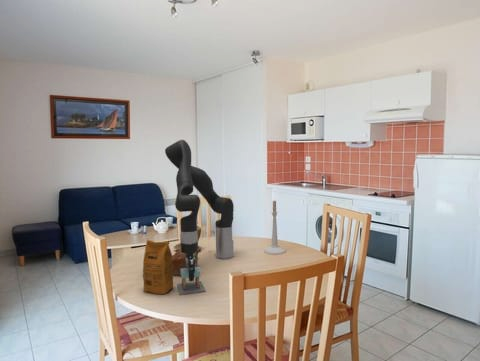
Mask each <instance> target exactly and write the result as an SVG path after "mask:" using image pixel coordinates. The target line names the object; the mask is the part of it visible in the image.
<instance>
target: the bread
mask: <svg viewBox="0 0 480 361" xmlns="http://www.w3.org/2000/svg"><path fill="white" fill-rule="evenodd" d="M193 254H194V256H195V267H197V265H198V259H199V251H197V252H195V253H193ZM172 257H173V261H172V263H173V277H178V276H179V277H181V274H180V269H182V268H187V267H186V264H185V253H182V252H181V250H178V249H177V251H176V252H175V253H173V254H172Z"/></svg>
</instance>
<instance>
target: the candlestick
mask: <svg viewBox="0 0 480 361" xmlns="http://www.w3.org/2000/svg"><path fill="white" fill-rule="evenodd" d="M278 213H279V212H278V211H277V200H272V211H271V214H272V228H271V229H272V231H271V232H272V234H271V245H268V246H266V247H264V249H263V253H265V254H268V255H274V256H276V255H283V254H285V253H286V252H287V250H286V248H285V247H284V246H280V245H279V243H278V242H279V241H278V240H279V239H278V227H277V224H278V223H277V216H278Z"/></svg>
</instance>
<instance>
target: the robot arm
mask: <svg viewBox="0 0 480 361" xmlns="http://www.w3.org/2000/svg"><path fill="white" fill-rule="evenodd" d="M164 153H165V156H166V157H167V159H168V160H169V161H170V163H171V164H173V165H174V166H175V167H176V168H177V172H176V175H175V176H176V178H175V179H176V180H175V183H176V189H177V191H176V192H177V194H176V199H175V202H174V206H175V210H177V211H178V212H180V213H183V212H185V213H186V212H190V214H188V215H186V216H182V217H181V218H180V220H179V224H180V225H179V227H180V233H179V239H180V243H179V244H181V252H182V253H185V264H186V267H187V268H188V273H189V278H188V282H195V277H194V273H195V267H196V266H195V256H194V254H193V253H195V252H197V251H198V246H199V241H198V234H197V226H198V214H199V211H200V207H201V198H200V196H199V195H197V194H192V193H193V192H194V188H195V190H197V192H199V194H200V195H201V196H202V198H204V200H205V201H206V202H207V204H208V205H209V207H210V208H211V209H212V211H213V212H214V213H216V214H220V219H217V220H216V221H215V226H214V227H215V256H216V258H217V259H221V260H222V259H223V260H224V259H225V260H226V259H230V258H234V256H235V252H234V250H235V249H234V240H233V222H234V208H235V206H234V202H233V200H232V198H230V197H223V196H220V195H219V194H217V192H216V191H215V190H214V185H213V181H212V178H211V177H210V176H209V175H208V173H207V172H206V171H204V170H203V169H201V168H200V167H196V166H193V165H192V150H191V147H190V145H189V143H188V142H187V141H186V140H184V139H180V140H177V141H176V142H174V143H172V144H170V145H169V146H167V147H166V148H165V149H164ZM198 252H199V251H198ZM190 268H193V270H190Z"/></svg>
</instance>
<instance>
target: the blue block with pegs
mask: <svg viewBox="0 0 480 361" xmlns="http://www.w3.org/2000/svg"><path fill="white" fill-rule="evenodd" d="M190 270H193V268H190ZM180 274H181V276H180V277H181V283H182V286H183V290H185V289H186V283H187V282H186V279H189V273H188V268H182V269H180ZM200 277H201V270H200V267H199V266H195V273H194V282H195V283H196V284H197V288H200V281H201V279H200Z"/></svg>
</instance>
